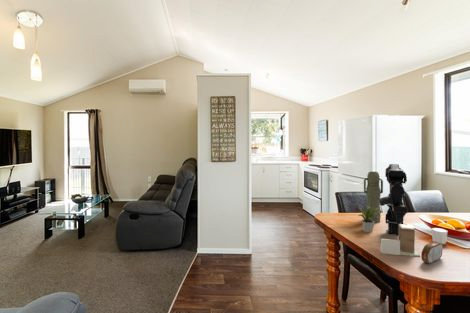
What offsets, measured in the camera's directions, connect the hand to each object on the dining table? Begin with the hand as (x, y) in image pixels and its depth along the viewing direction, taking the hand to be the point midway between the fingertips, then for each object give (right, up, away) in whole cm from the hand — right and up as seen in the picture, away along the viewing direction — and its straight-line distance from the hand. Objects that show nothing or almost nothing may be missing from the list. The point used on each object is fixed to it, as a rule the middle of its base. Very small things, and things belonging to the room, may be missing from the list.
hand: (395, 220), depth 134 cm
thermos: (+11, -11, +41) cm, 44 cm away
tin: (+5, -14, -18) cm, 24 cm away
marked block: (0, -13, -9) cm, 15 cm away
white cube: (+25, -13, +2) cm, 28 cm away
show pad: (0, -14, -9) cm, 16 cm away
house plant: (-3, -12, +21) cm, 24 cm away
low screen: (-10, -14, -10) cm, 20 cm away
